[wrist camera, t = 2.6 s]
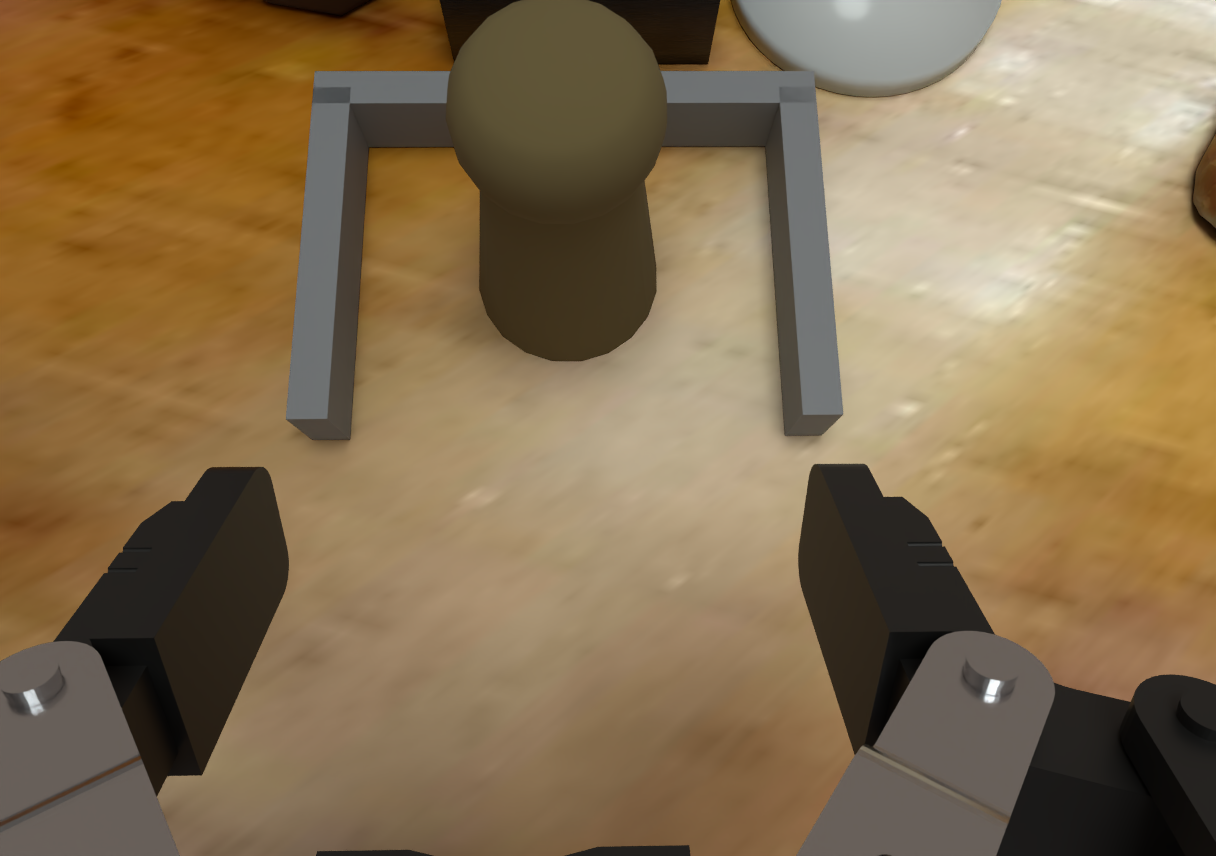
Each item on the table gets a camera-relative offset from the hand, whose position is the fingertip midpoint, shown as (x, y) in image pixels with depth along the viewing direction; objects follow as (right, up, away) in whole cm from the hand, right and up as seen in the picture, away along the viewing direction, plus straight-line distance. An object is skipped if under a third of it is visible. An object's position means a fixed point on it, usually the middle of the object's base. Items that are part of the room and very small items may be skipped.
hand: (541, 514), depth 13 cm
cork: (0, +6, +17) cm, 18 cm away
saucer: (+10, +18, +20) cm, 29 cm away
